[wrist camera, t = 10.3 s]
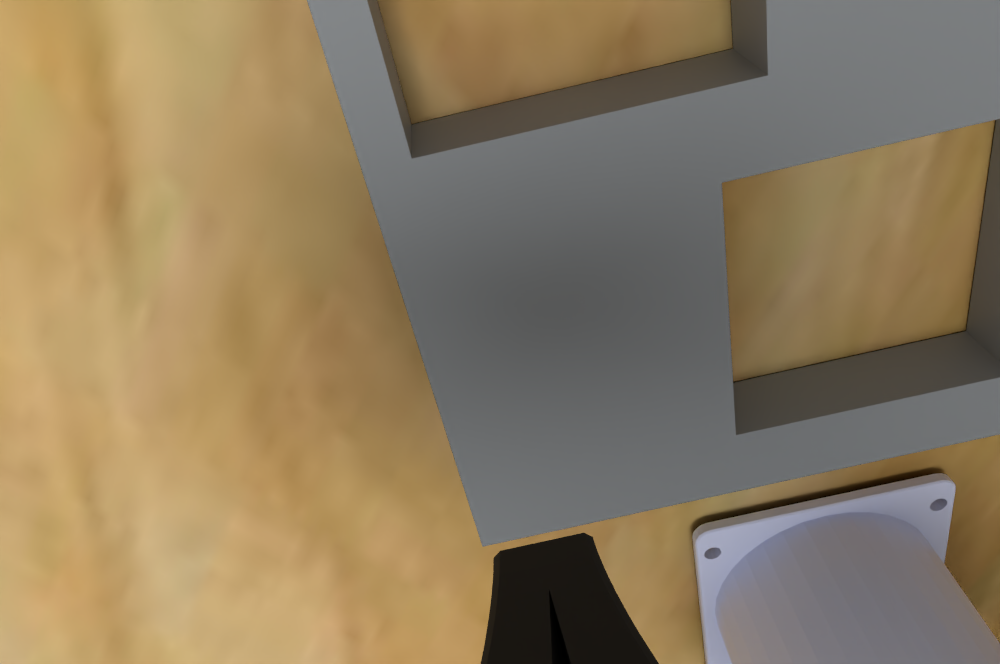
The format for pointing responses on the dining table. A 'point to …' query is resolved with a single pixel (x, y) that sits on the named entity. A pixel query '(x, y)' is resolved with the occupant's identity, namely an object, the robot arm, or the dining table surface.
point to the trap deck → (661, 258)
